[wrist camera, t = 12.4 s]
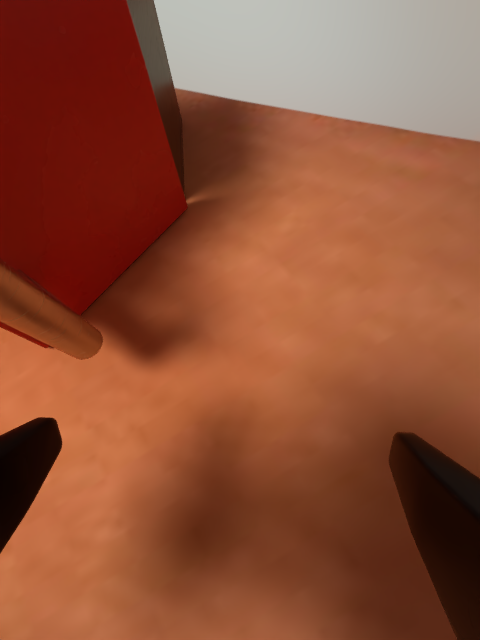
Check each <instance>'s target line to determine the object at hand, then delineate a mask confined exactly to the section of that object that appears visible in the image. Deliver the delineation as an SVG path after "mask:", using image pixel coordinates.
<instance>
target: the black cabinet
mask: <svg viewBox="0 0 480 640" xmlns="http://www.w3.org/2000/svg"><path fill="white" fill-rule="evenodd" d="M127 3H128V7H129V10H130V14H131V17H132V20H133V24H134V27H135V30H136V34H137V37H138V41H139V44H140V47H141V51H142V54H143V57H144V61H145V64H146V68H147V71H148V74H149V78H150V81H151V85H152V88H153V91H154V95H155V98H156V101H157V105H158V108H159V112H160V115H161V118H162V122H163V125H164V128H165V132H166V135H167V139H168V142H169V145H170V149H171V152H172V156H173V159H174V162H175V166H176V169H177V172H178V176H179V179H180V183H181V186H182V189H183V193H184V168H183V138H182V119H181V114H180V110H179V106H178V102H177V98H176V93H175V89H174V85H173V81H172V76H171V72H170V68H169V64H168V59H167V55H166V51H165V47H164V43H163V38H162V34H161V30H160V26H159V22H158V17H157V13H156V8H155V5H154V0H127Z"/></svg>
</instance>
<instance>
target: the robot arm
mask: <svg viewBox="0 0 480 640" xmlns="http://www.w3.org/2000/svg"><path fill="white" fill-rule="evenodd" d="M61 448H62V438H61V435H60V431H59V428H58V424H57V421H56V420H55V419H54V418H45V417H40V418H36V419H34V420H32V421H30V422H27V423H25V424H23V425H21V426H19V427H17V428H15V429H13V430H11V431H9V432H7V433H5V434H2V435H0V553H1V552H2V550H3V549H4V547H5V545H6V544H7V542H8V541H9V539H10V538H11V536H12V535H13V533H14V532H15V530H16V528H17V527H18V525H19V524H20V522H21V521H22V519H23V518H24V516H25V514H26V513H27V511H28V510H29V508H30V506H31V504H32V503H33V501H34V499H35V497H36V495H37V494H38V492H39V490H40V488H41V486H42V484H43V482H44V481H45V479H46V477H47V475H48V473H49V471H50V469H51V468H52V466H53V464H54V462H55V460H56V458H57V456H58V455H59V453H60V451H61ZM389 465H390V469H391V472H392V475H393V478H394V481H395V484H396V487H397V490H398V493H399V496H400V499H401V503H402V506H403V509H404V512H405V515H406V518H407V521H408V524H409V527H410V530H411V533H412V535H413V537H414V540H415V542H416V545H417V547H418V550H419V552H420V554H421V557H422V559H423V561H424V563H425V566H426V568H427V570H428V573H429V575H430V577H431V580H432V582H433V584H434V587H435V589H436V591H437V594H438V596H439V598H440V601H441V603H442V605H443V608H444V610H445V612H446V615H447V617H448V619H449V622H450V624H451V626H452V629H453V631H454V633H455V636H456V638H457V640H480V479H479V478H478V477H477V476H475V475H474V474H472V473H471V472H469V471H468V470H466V469H465V468H464V467H462V466H461V465H459V464H458V463H456V462H455V461H453V460H452V459H451V458H449V457H448V456H446V455H445V454H443V453H442V452H440V451H439V450H438V449H436V448H435V447H433V446H432V445H430V444H429V443H427V442H426V441H425V440H423V439H422V438H420V437H419V436H417V435H416V434H414V433H408V432H397V433H395V435H394V437H393V441H392V446H391V450H390V455H389Z"/></svg>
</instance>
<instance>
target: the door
mask: <svg viewBox="0 0 480 640" xmlns="http://www.w3.org/2000/svg"><path fill="white" fill-rule="evenodd" d="M187 208H188V206H187V203H186V200H185V196H184V193H183V189H182V186H181V183H180V179H179V176H178V172H177V169H176V166H175V162H174V159H173V156H172V152H171V149H170V145H169V142H168V139H167V135H166V132H165V128H164V125H163V122H162V118H161V115H160V112H159V108H158V105H157V101H156V98H155V95H154V91H153V88H152V85H151V81H150V78H149V74H148V71H147V68H146V64H145V61H144V57H143V54H142V51H141V47H140V44H139V41H138V37H137V34H136V30H135V27H134V24H133V20H132V17H131V14H130V10H129V7H128V3H127V0H0V327H1V328H3V329H5V330H8V331H10V332H12V333H14V334H16V335H18V336H20V337H23V338H25V339H27V340H29V341H31V342H33V343H35V344H38V345H40V346H42V347H44V348H48V347H49V346H52V347H54V348H56V349H58V350H60V351H62V352H64V353H66V354H68V355H70V356H72V357H74V358H76V359H80V360H83V359H88V358H91V357H93V356H94V355H95V354H97V353H98V351H99V350H100V349H101V347H102V343H103V337H102V334H101V332H100V331H99V330H98V329H96V328H95V327H94V326H92V325H91V324H90V323H89V322H87V321H86V320H85V319H84V318H82V317H81V316H80V315H81V314H82V313H83V312H84V311H85V310H86V309H87V308H88V307H89V306H90V305H91V304H92V303H93V302H94V301H95V300H96V299H97V298H98V297H99V296H100V295H101V294H102V293H103V292H104V291H105V290H106V289H107V288H108V287H109V286H110V285H111V284H112V283H113V282H114V281H115V280H116V279H117V278H118V277H119V276H120V275H121V274H122V273H123V272H124V271H125V270H126V269H127V268H128V267H129V266H130V265H131V264H132V263H133V262H134V261H135V260H136V259H137V258H138V257H139V256H140V255H141V254H142V253H143V252H144V251H145V250H146V249H147V248H148V247H149V246H150V245H151V244H152V243H153V242H154V241H155V240H156V239H157V238H158V237H159V236H160V235H161V234H162V233H163V232H164V231H165V230H166V229H167V228H168V227H169V226H170V225H171V224H172V223H173V222H174V221H175V220H176V219H177V218H178V217H179V216H180V215H181V214H182V213H183V212H184V211H185V210H186V209H187Z"/></svg>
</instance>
